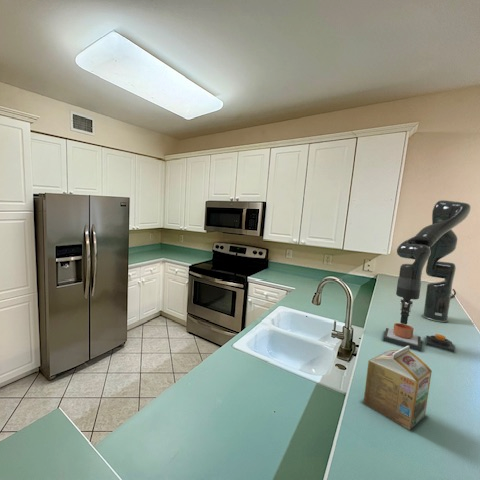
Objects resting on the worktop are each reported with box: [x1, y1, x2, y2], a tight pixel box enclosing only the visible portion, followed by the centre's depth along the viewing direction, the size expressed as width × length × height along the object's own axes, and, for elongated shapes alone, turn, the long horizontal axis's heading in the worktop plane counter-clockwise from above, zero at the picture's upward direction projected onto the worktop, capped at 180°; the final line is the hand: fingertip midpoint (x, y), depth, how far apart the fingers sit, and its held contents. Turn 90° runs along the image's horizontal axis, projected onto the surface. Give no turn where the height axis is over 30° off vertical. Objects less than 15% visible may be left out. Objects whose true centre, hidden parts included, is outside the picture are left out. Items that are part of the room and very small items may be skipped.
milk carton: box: [363, 346, 433, 431], centre depth 73 cm, size 11×10×19 cm
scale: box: [382, 327, 422, 352], centre depth 116 cm, size 14×12×3 cm
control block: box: [425, 335, 455, 353], centre depth 113 cm, size 10×8×3 cm
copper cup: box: [393, 322, 414, 339], centre depth 115 cm, size 6×6×5 cm
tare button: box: [434, 333, 447, 341], centre depth 112 cm, size 3×3×2 cm
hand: (403, 320), depth 115 cm, fingers open, 8 cm apart
